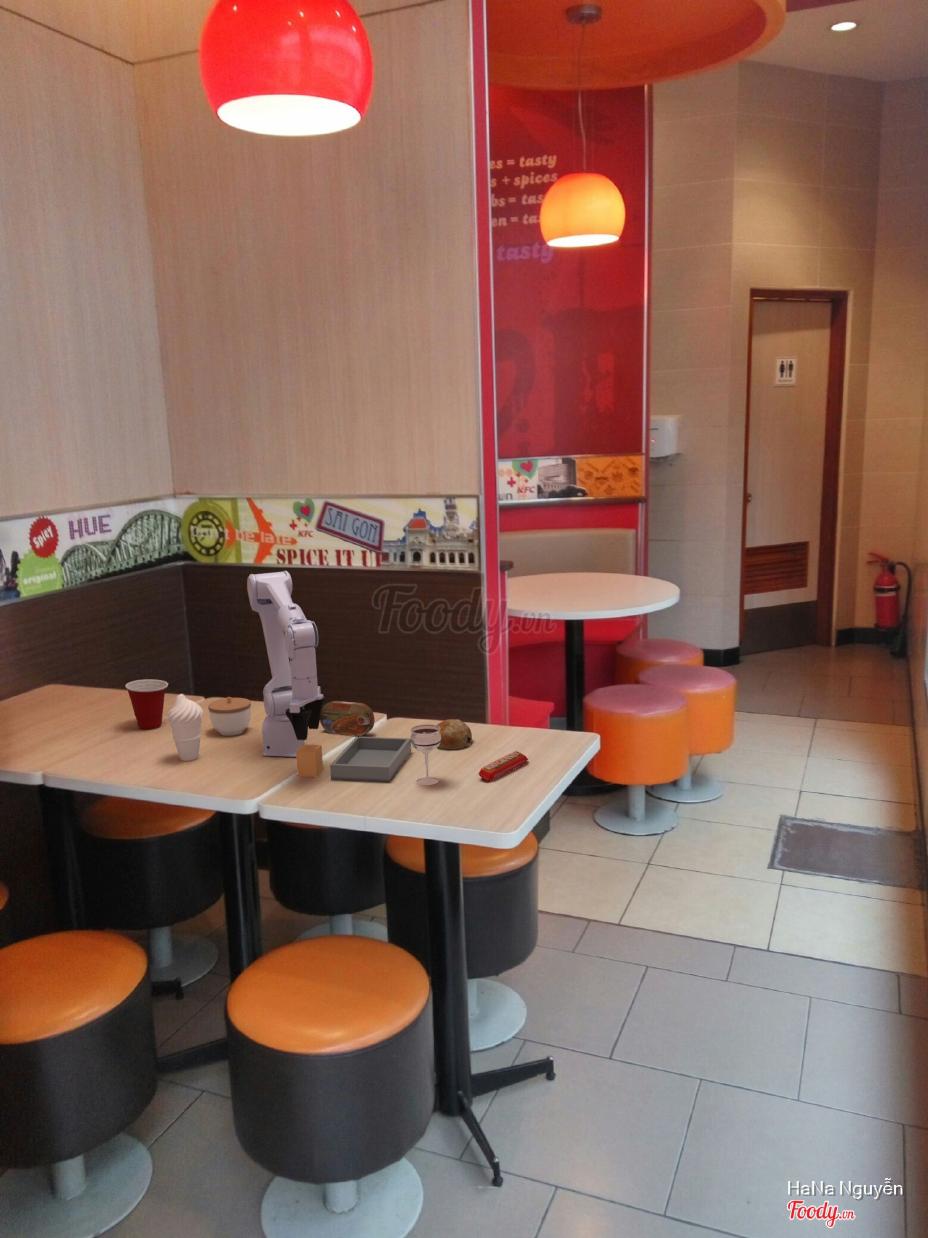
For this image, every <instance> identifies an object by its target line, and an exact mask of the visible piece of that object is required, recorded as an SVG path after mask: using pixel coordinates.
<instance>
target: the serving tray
mask: <svg viewBox="0 0 928 1238" xmlns="http://www.w3.org/2000/svg"><path fill="white" fill-rule="evenodd" d="M354 737H355V738H354V739H352V741H351V742H350V743H349V744H348V745H347V746H346V747H345V748H344V749H343V750H342V751H341V752H340V753H339V755H338V756H337V757H336V758H334V760H333V761H332V762H331V763H330V765H329V769H330V780H331V781H352V782H373V783H374V782H376V783H391V781H392V780H393V778H394V777H395V775H396V774H397V773H398V771H399V770H400V769H401V767H403V765H404V764H405V762H406V761H407V759H408V758H409V756H410V755H411V754H412V743H411V740H410V738H411V737H410V738H409V737H408V738H407V737H406V738H405V737H383V736H382V737H381V736H380V737H378V736H359V737H358V736H354Z"/></svg>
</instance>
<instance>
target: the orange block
mask: <svg viewBox="0 0 928 1238" xmlns="http://www.w3.org/2000/svg"><path fill="white" fill-rule="evenodd" d="M295 758H296V771H297V777H313V778H315V777H316V778H317V777H318V776H319V775H320V773H322V772H323V770H324V764H323V763H324V762H323V761H324V759H323V746H322V744H309V745H308V744H307V743H304V744H303V745H302V746H301V747H300V748H299V749H297V750H296V757H295Z"/></svg>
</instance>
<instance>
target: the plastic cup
mask: <svg viewBox="0 0 928 1238" xmlns="http://www.w3.org/2000/svg"><path fill="white" fill-rule="evenodd" d="M168 686H169V682H167V681H166V680H160V679H146V678H145V679H137V680H133V681H130V682H127V683H126V684H125V689H126V690H127V693H128V697H129V698H130V701H131V702H130V703H131V705H132V709H133V713H134V716H135V719H136V723H137V726H138V728H139V729H140V730H142V731H143V730H145V731H149V730H156V729H159V728H160V727H162V723H163V714H164V704H165V695H166V691H167V688H168Z"/></svg>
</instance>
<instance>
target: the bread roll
mask: <svg viewBox="0 0 928 1238" xmlns="http://www.w3.org/2000/svg"><path fill="white" fill-rule="evenodd" d="M435 725H436V726H439V727H440V728H441V729H440V731H439V733H440V734H441V742H440V745H439V746H438V747H437V748H436V749H440V750H444V751H445V750H446V751H450V750H453V751H454V750H462V749H464V748H469V747H470V746H471V743H472V742H471V741H472V739H473V738H472V737H473V735H472V734H473V733H472V731H471V728H470V726H468V725H467V724H466V722H464V721H462V720H460V719H451V718H448V719H446V720H443V721H441V722H439V723H437V724H435Z"/></svg>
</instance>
